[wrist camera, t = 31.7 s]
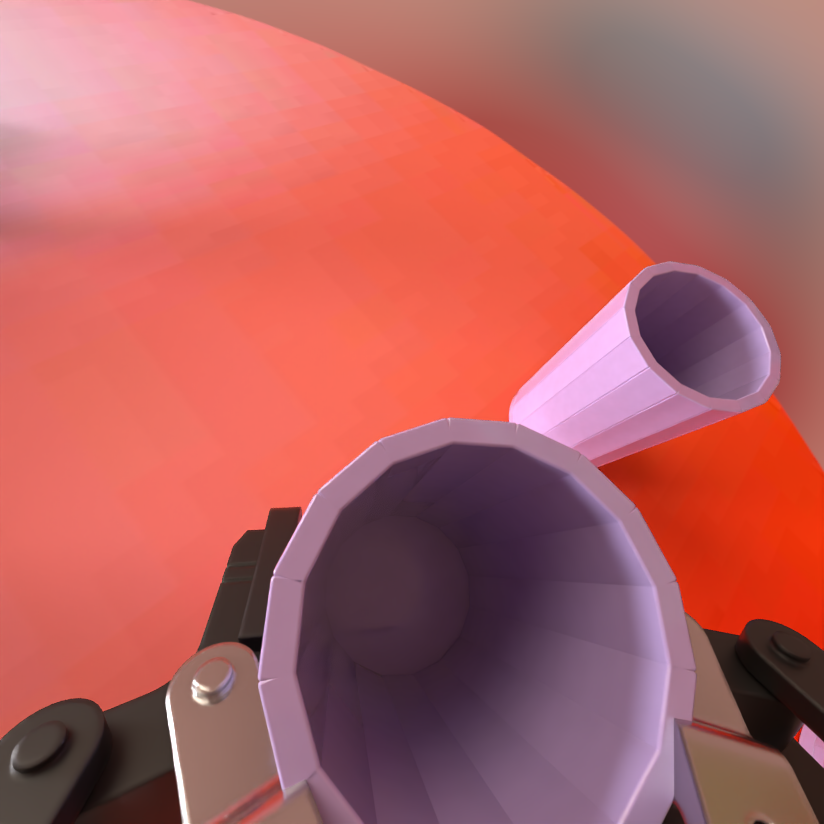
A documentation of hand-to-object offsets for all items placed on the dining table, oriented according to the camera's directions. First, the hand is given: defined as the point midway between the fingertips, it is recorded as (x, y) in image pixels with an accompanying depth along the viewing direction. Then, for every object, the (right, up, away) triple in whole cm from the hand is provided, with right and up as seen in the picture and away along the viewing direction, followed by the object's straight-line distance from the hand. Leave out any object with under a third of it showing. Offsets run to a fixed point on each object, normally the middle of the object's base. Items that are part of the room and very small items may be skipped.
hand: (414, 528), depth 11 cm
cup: (+8, +2, +12) cm, 15 cm away
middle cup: (-1, -3, +4) cm, 5 cm away
